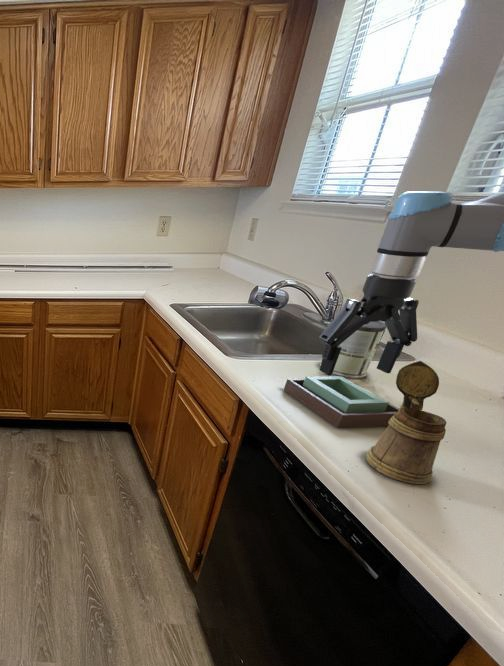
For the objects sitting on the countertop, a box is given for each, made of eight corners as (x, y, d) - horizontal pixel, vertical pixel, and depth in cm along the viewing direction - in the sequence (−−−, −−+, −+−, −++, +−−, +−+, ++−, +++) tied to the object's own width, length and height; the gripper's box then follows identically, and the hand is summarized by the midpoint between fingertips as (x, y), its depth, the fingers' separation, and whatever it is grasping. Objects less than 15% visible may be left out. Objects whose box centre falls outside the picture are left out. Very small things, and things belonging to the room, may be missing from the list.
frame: (381, 418, 91) (389, 402, 89) (342, 419, 90) (349, 403, 88) (334, 390, 102) (340, 375, 100) (300, 391, 102) (305, 376, 100)
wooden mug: (408, 447, 82) (452, 364, 74) (438, 490, 71) (494, 398, 63) (353, 436, 85) (389, 356, 77) (374, 475, 74) (419, 386, 66)
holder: (401, 425, 89) (407, 413, 88) (337, 427, 88) (342, 415, 87) (338, 388, 104) (343, 377, 103) (283, 390, 103) (287, 378, 102)
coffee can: (316, 360, 121) (333, 313, 114) (359, 366, 117) (379, 318, 111) (323, 373, 112) (342, 324, 106) (370, 381, 108) (393, 330, 102)
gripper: (432, 270, 87) (391, 363, 96) (319, 272, 86) (289, 366, 95) (470, 278, 80) (423, 377, 90) (348, 280, 79) (313, 381, 88)
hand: (354, 371), depth 92 cm, fingers open, 13 cm apart
